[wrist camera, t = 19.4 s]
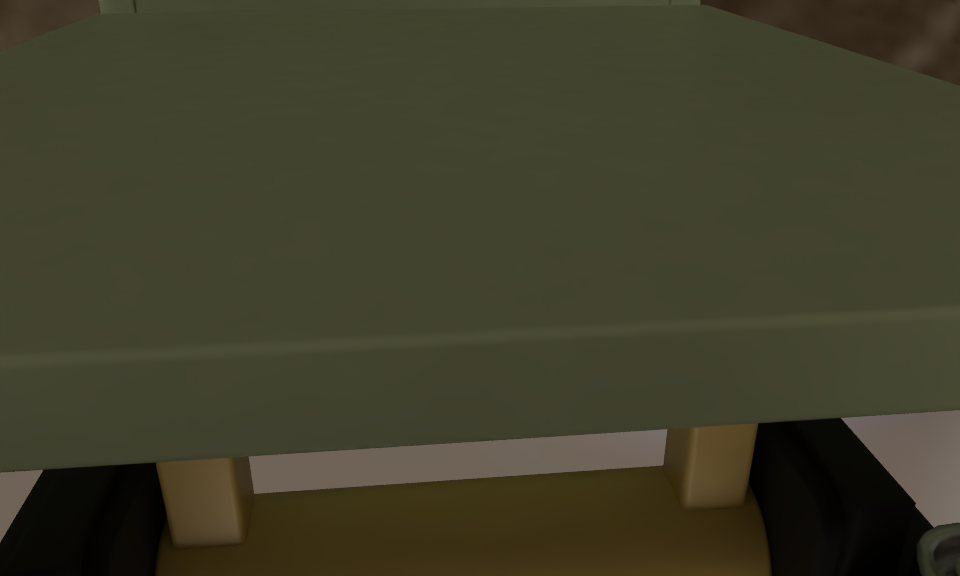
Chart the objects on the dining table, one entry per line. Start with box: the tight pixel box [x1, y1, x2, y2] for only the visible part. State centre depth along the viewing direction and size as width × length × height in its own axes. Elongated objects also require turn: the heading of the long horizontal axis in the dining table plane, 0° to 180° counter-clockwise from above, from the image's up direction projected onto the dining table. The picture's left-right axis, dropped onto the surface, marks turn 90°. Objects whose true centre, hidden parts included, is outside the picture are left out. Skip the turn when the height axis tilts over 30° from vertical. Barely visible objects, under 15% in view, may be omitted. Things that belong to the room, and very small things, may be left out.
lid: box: [0, 5, 960, 576], centre depth 13 cm, size 16×15×5 cm
